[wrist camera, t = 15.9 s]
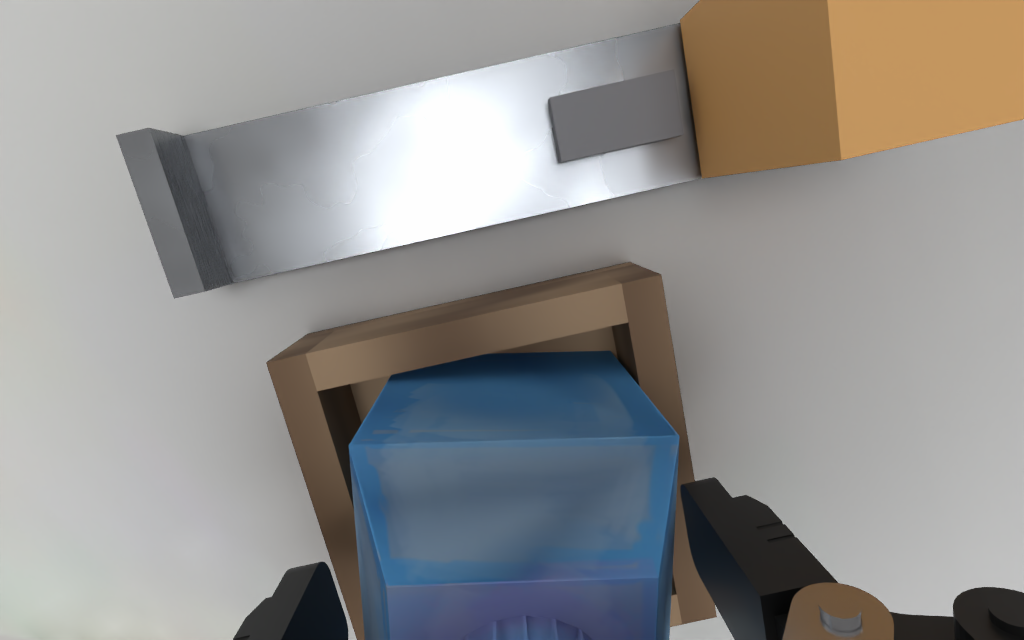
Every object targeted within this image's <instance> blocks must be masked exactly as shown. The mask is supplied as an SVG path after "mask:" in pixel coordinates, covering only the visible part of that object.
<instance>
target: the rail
mask: <svg viewBox="0 0 1024 640" xmlns="http://www.w3.org/2000/svg"><path fill="white" fill-rule="evenodd" d="M673 69H674V71H675V78H676V84H677V91H678V98H679V105H680V112H681V119H682V126H683V133H684V135H681V136H679V137H675V138H671V139H666V140H662V141H657V142H653V143H649V144H644V145H640V146H635V147H631V148H626V149H622V150H617V151H613V152H609V153H604V154H600V155H595V156H591V157H586V158H582V159H577V160H573V161H569V162H564V163H559V158H558V152H557V147H556V142H555V137H554V132H553V127H552V121H551V116H550V111H549V106H548V99H549V97H553V96H558V95H562V94H567V93H571V92H576V91H580V90H584V89H589V88H593V87H598V86H602V85H607V84H611V83H615V82H620V81H624V80H629V79H633V78H637V77H642V76H646V75H651V74H655V73H660V72H664V71H668V70H673ZM116 137H117V139H118V142H119V145H120V148H121V151H122V153H123V156H124V159H125V162H126V165H127V168H128V170H129V173H130V176H131V179H132V182H133V184H134V187H135V190H136V193H137V196H138V198H139V201H140V204H141V207H142V210H143V212H144V215H145V218H146V221H147V224H148V226H149V229H150V232H151V235H152V238H153V240H154V243H155V246H156V249H157V252H158V255H159V257H160V260H161V263H162V266H163V269H164V271H165V274H166V277H167V280H168V283H169V285H170V288H171V291H172V294H173V297H174V298H178V297H183V296H187V295H191V294H196V293H200V292H205V291H208V290H212V289H215V288H218V287H222V286H225V285H228V284H232V283H236V282H240V281H245V280H249V279H254V278H258V277H263V276H267V275H272V274H276V273H281V272H285V271H290V270H294V269H298V268H303V267H307V266H312V265H316V264H321V263H325V262H330V261H334V260H339V259H343V258H348V257H352V256H356V255H361V254H365V253H370V252H374V251H379V250H383V249H388V248H392V247H397V246H401V245H406V244H410V243H415V242H419V241H423V240H428V239H432V238H437V237H441V236H446V235H450V234H455V233H459V232H464V231H468V230H473V229H477V228H481V227H486V226H490V225H495V224H499V223H504V222H508V221H513V220H517V219H522V218H526V217H531V216H535V215H539V214H544V213H548V212H553V211H557V210H562V209H566V208H571V207H575V206H580V205H584V204H589V203H593V202H598V201H602V200H606V199H611V198H615V197H620V196H624V195H629V194H633V193H638V192H642V191H647V190H651V189H656V188H660V187H664V186H669V185H673V184H678V183H682V182H687V181H691V180H696V179H700V178H702V174H701V167H700V160H699V152H698V145H697V138H696V131H695V124H694V117H693V110H692V103H691V95H690V88H689V81H688V74H687V67H686V60H685V53H684V46H683V39H682V31H681V24H680V23H678V24H674V25H670V26H665V27H661V28H656V29H652V30H648V31H643V32H639V33H634V34H630V35H626V36H621V37H617V38H612V39H608V40H604V41H599V42H595V43H590V44H586V45H582V46H577V47H573V48H568V49H564V50H560V51H555V52H551V53H546V54H542V55H538V56H533V57H529V58H524V59H520V60H516V61H511V62H507V63H502V64H498V65H494V66H489V67H485V68H480V69H476V70H472V71H467V72H463V73H458V74H454V75H450V76H445V77H441V78H436V79H432V80H428V81H423V82H419V83H414V84H410V85H406V86H401V87H397V88H392V89H388V90H384V91H379V92H375V93H370V94H366V95H362V96H357V97H353V98H348V99H344V100H340V101H335V102H331V103H326V104H322V105H318V106H313V107H309V108H304V109H300V110H296V111H291V112H287V113H282V114H278V115H274V116H269V117H265V118H260V119H256V120H252V121H247V122H243V123H238V124H234V125H230V126H225V127H221V128H216V129H212V130H208V131H203V132H199V133H194V134H190V135H186V136H183V135H178V134H174V133H169V132H165V131H161V130H156V129H152V128H146V129H142V130H137V131H133V132H128V133H124V134H120V135H116Z"/></svg>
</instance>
